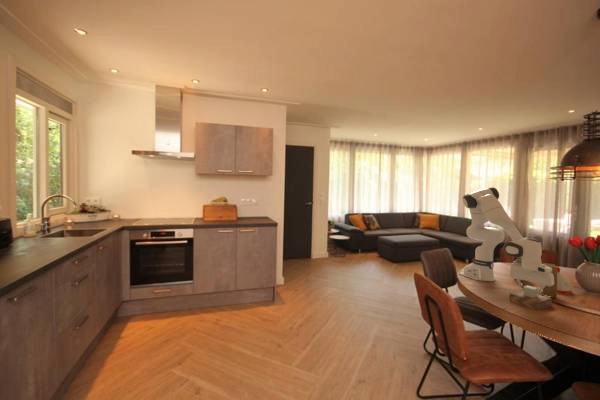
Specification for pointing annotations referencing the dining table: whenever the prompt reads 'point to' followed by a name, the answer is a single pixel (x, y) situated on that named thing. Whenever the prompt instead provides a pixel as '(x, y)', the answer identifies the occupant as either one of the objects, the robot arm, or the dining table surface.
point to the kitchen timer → (562, 283)
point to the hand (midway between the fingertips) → (530, 288)
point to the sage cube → (530, 291)
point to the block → (553, 289)
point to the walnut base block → (531, 300)
